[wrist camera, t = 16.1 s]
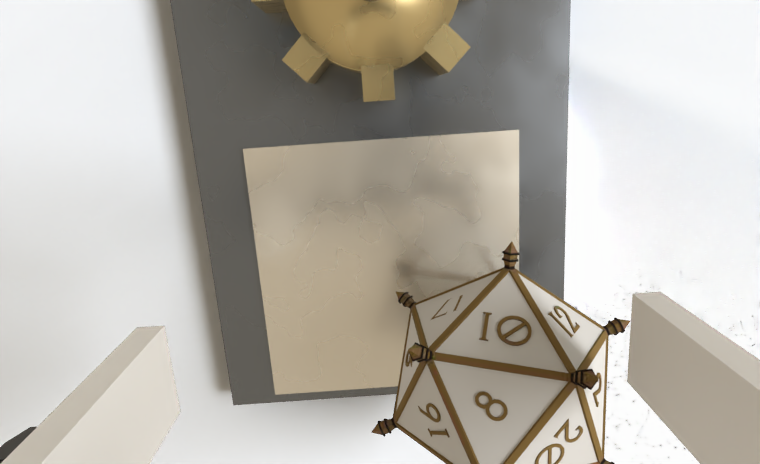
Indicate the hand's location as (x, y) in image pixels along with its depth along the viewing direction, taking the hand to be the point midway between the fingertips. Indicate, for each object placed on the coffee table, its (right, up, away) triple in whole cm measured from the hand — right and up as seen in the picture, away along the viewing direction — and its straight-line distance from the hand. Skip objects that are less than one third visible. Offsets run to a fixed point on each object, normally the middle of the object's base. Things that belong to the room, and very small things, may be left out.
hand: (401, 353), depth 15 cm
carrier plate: (-1, +7, +8) cm, 10 cm away
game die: (0, +1, +6) cm, 6 cm away
